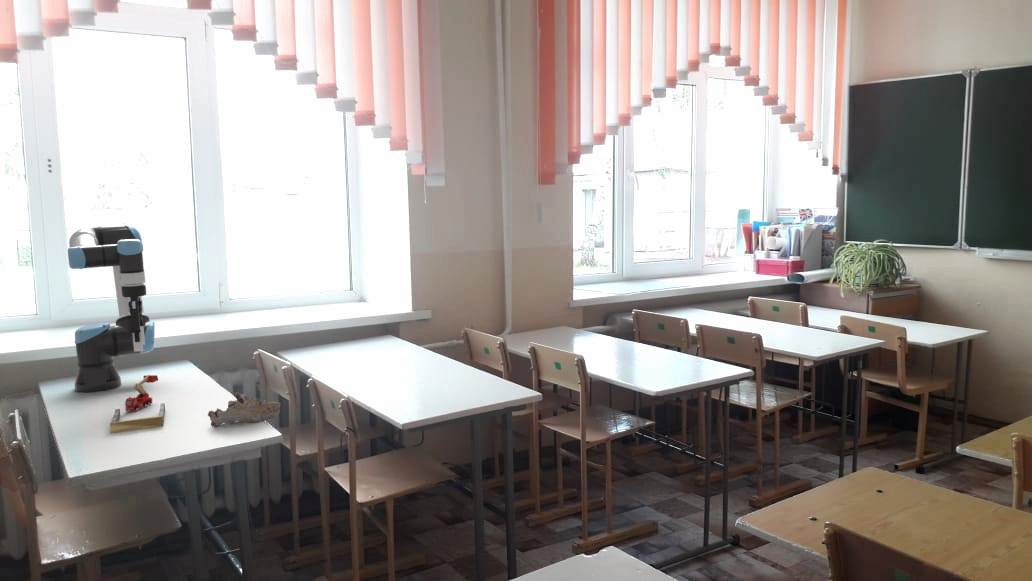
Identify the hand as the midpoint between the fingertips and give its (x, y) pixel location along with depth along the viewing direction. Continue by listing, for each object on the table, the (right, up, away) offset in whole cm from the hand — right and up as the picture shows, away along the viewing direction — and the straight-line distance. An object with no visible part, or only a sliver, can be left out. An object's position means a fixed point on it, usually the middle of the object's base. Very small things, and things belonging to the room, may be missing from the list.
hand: (139, 347), depth 268 cm
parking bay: (+12, -21, -24) cm, 34 cm away
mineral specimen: (+47, -21, -29) cm, 59 cm away
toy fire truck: (+5, -19, -8) cm, 22 cm away
